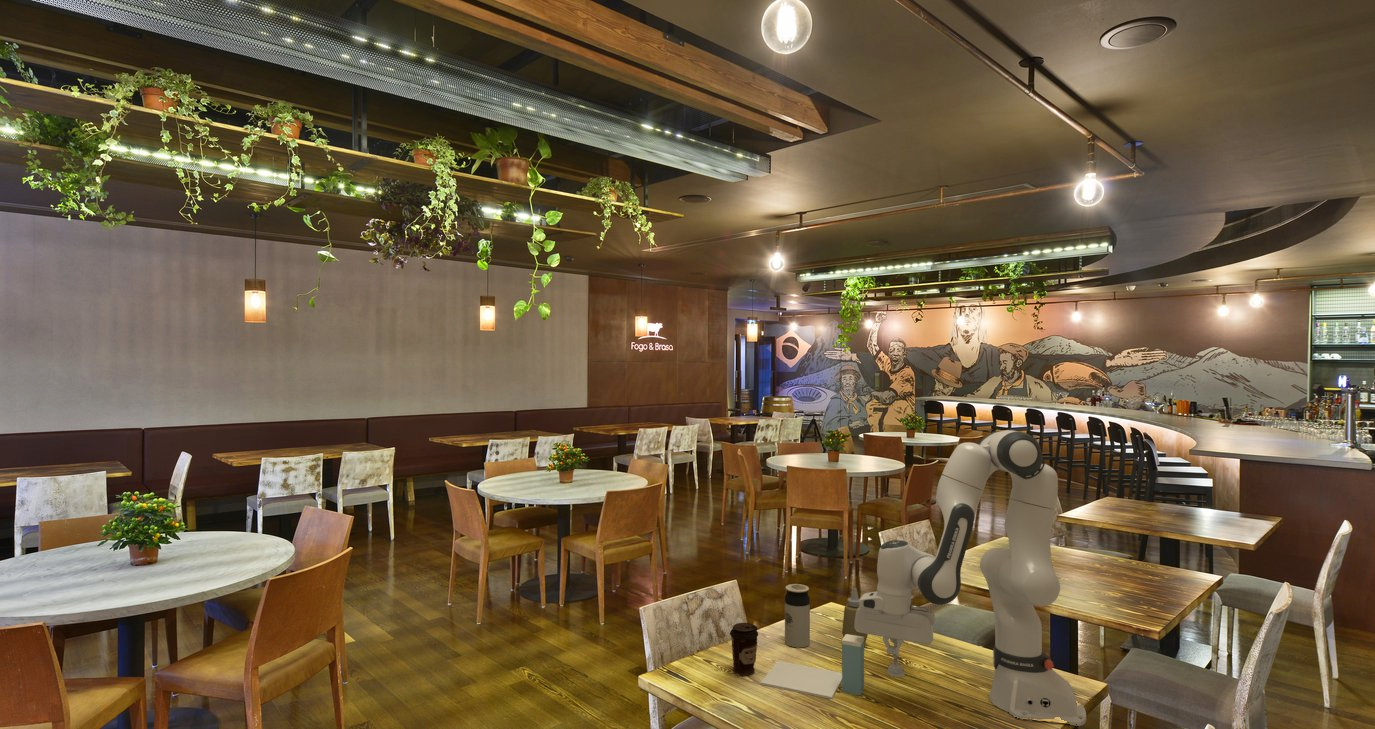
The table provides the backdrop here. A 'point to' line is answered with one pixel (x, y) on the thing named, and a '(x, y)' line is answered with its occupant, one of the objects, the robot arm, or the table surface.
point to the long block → (853, 664)
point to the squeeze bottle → (852, 616)
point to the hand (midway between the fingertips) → (892, 654)
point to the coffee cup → (744, 648)
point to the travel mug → (797, 616)
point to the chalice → (895, 664)
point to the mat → (803, 679)
